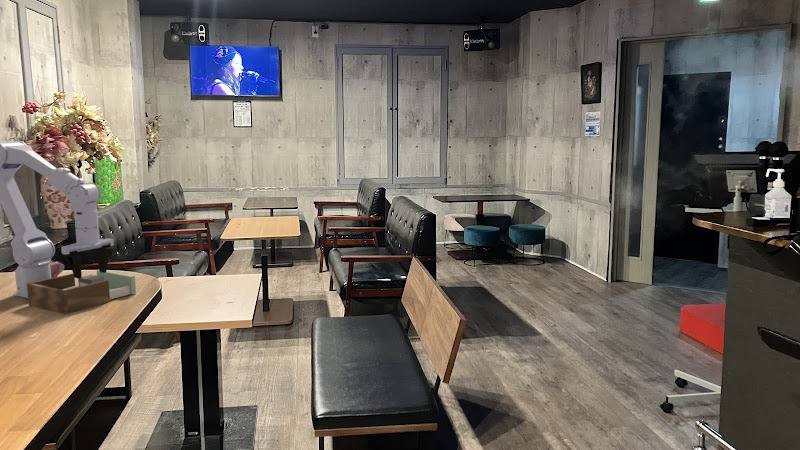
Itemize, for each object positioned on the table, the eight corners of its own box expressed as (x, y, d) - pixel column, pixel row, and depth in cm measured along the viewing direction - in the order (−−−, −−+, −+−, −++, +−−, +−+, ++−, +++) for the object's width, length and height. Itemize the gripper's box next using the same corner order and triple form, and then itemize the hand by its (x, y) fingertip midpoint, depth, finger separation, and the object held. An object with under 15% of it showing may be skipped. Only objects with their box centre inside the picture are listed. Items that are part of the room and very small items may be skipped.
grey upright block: (92, 297, 175) (91, 280, 174) (79, 294, 178) (77, 277, 177) (106, 294, 178) (104, 277, 177) (92, 291, 181) (91, 274, 180)
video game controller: (39, 289, 192) (46, 269, 191) (27, 282, 193) (34, 262, 191) (62, 281, 202) (69, 262, 200) (50, 274, 202) (57, 255, 201)
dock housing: (28, 305, 170) (26, 283, 169) (74, 293, 182) (72, 273, 181) (64, 314, 162) (62, 291, 162) (110, 301, 174) (108, 280, 173)
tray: (59, 297, 177) (57, 279, 176) (105, 285, 190) (103, 268, 189) (93, 305, 170) (91, 286, 169) (138, 292, 182) (137, 274, 181)
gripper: (71, 232, 166) (75, 282, 169) (119, 224, 179) (122, 271, 181) (55, 230, 170) (59, 279, 172) (103, 222, 182) (106, 268, 185)
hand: (90, 274), depth 177 cm, fingers open, 7 cm apart
